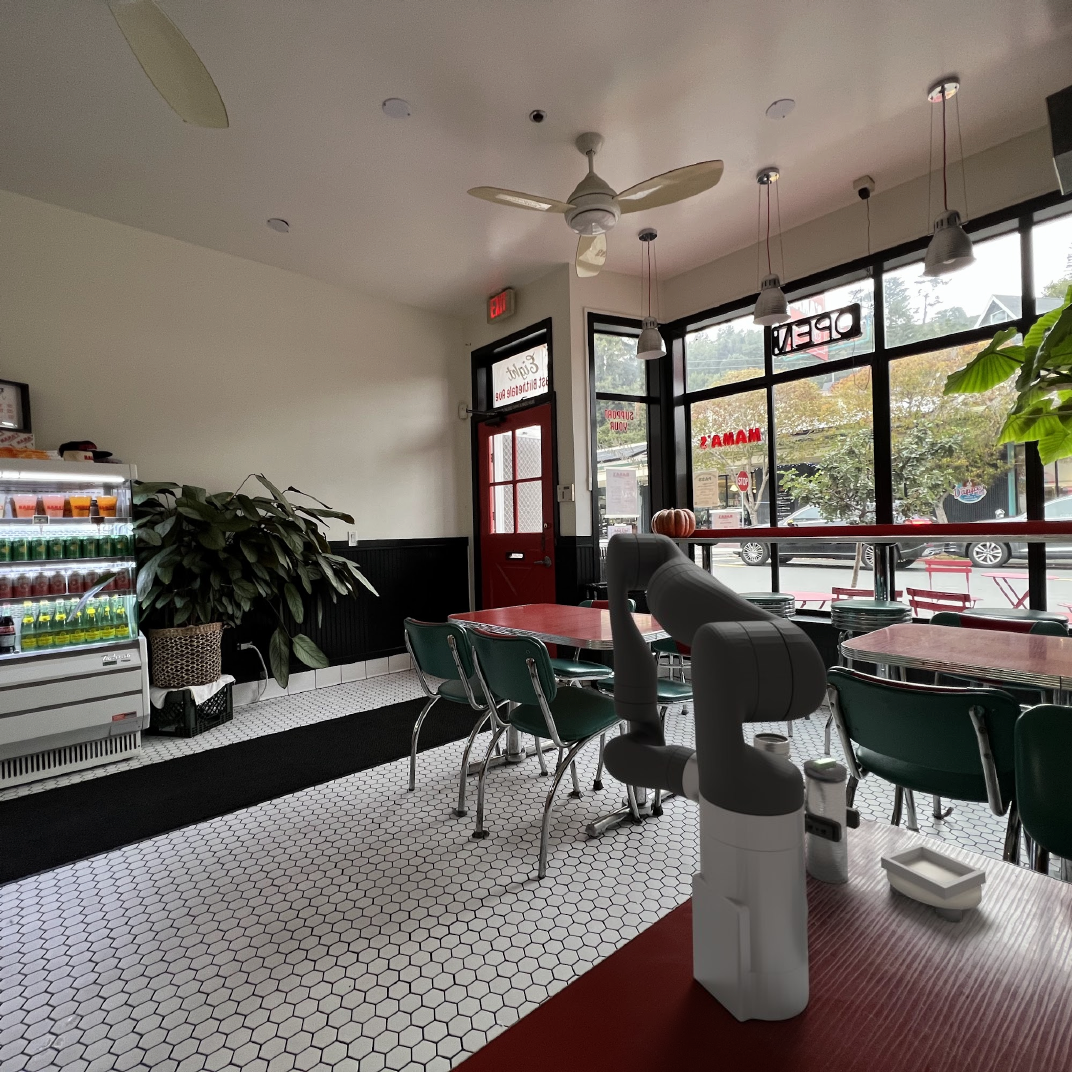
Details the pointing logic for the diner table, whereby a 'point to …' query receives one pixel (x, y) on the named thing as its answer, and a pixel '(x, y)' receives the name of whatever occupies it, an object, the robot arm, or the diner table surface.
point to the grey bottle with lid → (829, 802)
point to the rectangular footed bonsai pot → (934, 880)
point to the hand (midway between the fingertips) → (849, 826)
